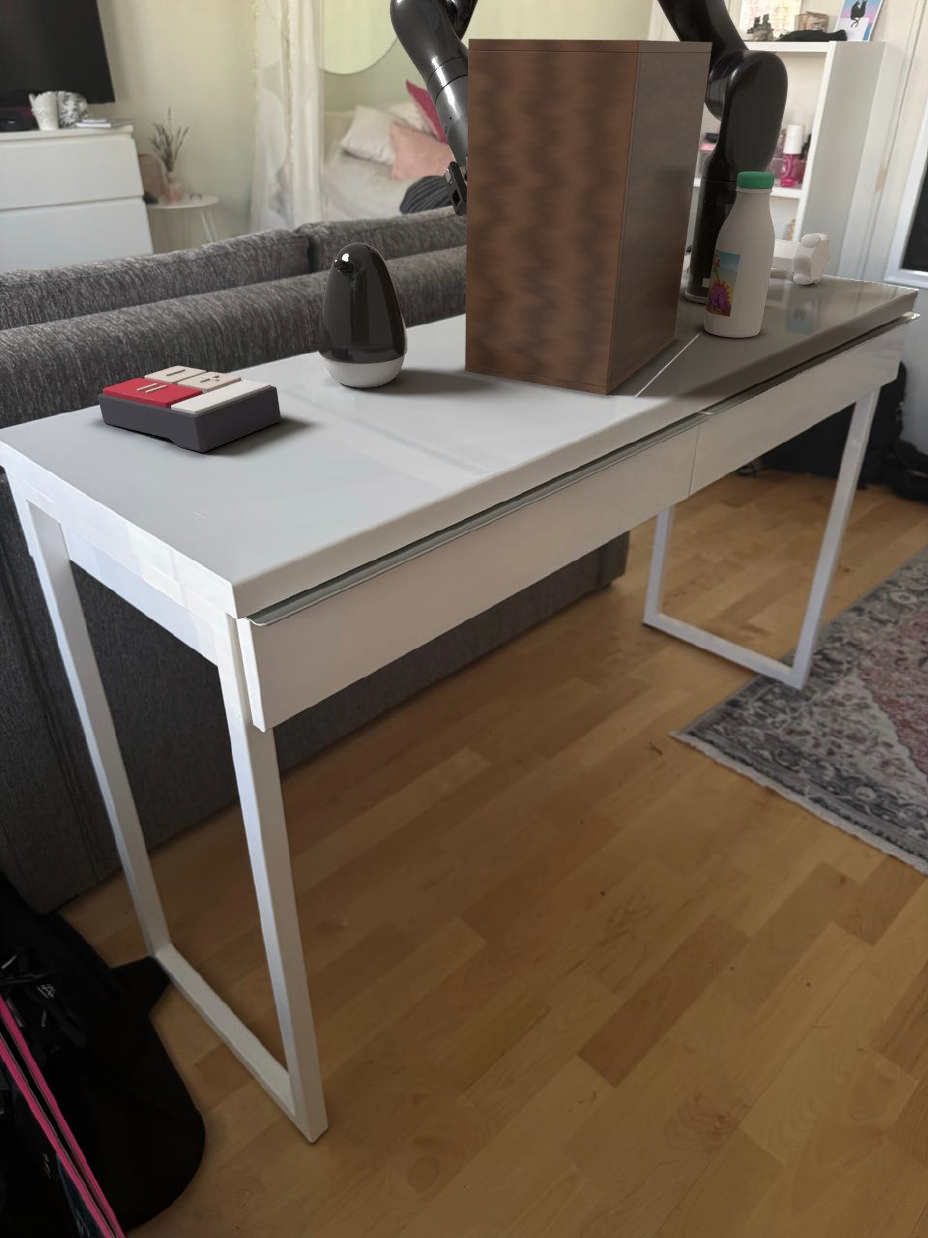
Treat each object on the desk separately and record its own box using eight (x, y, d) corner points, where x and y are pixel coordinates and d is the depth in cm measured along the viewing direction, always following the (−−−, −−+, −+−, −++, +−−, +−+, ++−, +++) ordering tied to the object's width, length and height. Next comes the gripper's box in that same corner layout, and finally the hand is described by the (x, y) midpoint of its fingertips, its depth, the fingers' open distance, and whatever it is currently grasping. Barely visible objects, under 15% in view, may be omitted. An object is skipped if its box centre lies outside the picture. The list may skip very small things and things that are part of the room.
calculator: (177, 361, 101) (277, 379, 93) (185, 400, 103) (283, 420, 95) (93, 387, 93) (194, 408, 85) (103, 428, 95) (203, 453, 88)
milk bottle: (754, 325, 131) (781, 169, 120) (764, 340, 124) (794, 176, 114) (699, 323, 131) (722, 168, 121) (706, 337, 125) (730, 175, 114)
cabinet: (464, 372, 111) (468, 38, 93) (550, 324, 130) (566, 40, 112) (605, 396, 104) (639, 39, 86) (673, 341, 123) (712, 42, 105)
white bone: (722, 276, 159) (729, 225, 155) (746, 269, 164) (754, 220, 160) (804, 290, 150) (814, 236, 146) (827, 282, 156) (837, 230, 151)
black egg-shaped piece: (304, 389, 104) (292, 247, 96) (344, 364, 113) (337, 231, 105) (386, 400, 102) (381, 254, 94) (421, 373, 110) (420, 238, 102)
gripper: (436, 104, 110) (486, 221, 108) (532, 102, 117) (581, 212, 115) (415, 150, 117) (462, 260, 115) (507, 145, 124) (553, 250, 121)
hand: (522, 236), depth 115 cm, fingers open, 8 cm apart
